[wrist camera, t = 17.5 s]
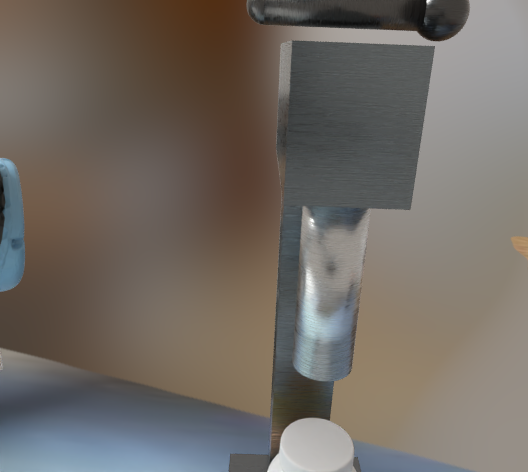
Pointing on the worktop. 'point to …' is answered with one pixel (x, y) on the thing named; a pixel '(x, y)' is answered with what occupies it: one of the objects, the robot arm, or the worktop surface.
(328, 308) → the arbor press
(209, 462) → the worktop surface
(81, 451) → the worktop surface
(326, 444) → the supplement bottle
